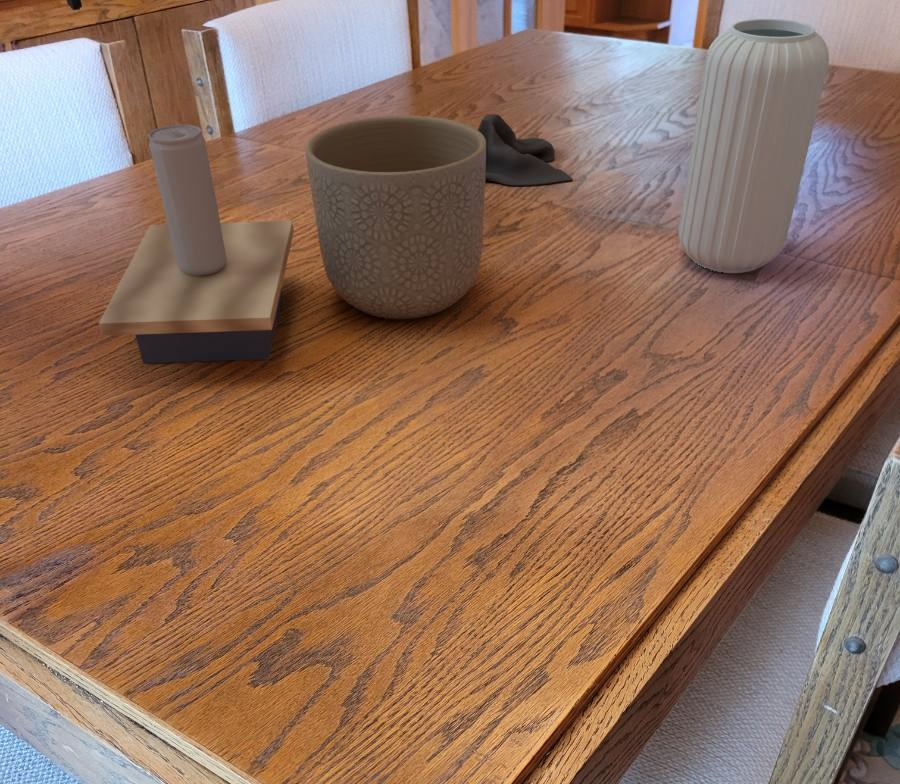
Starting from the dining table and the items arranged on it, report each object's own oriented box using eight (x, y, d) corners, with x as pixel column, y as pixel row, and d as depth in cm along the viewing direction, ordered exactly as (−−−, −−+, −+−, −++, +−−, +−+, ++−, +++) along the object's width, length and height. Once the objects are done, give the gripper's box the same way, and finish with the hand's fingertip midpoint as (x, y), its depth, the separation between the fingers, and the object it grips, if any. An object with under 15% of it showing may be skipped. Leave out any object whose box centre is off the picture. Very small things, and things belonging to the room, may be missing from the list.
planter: (515, 310, 92) (520, 150, 82) (367, 352, 87) (352, 186, 76) (435, 252, 103) (431, 105, 93) (299, 287, 97) (277, 133, 87)
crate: (143, 363, 86) (129, 314, 82) (170, 298, 96) (159, 251, 92) (269, 359, 86) (260, 309, 83) (283, 294, 96) (276, 247, 93)
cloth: (398, 180, 120) (396, 130, 116) (444, 137, 133) (443, 90, 129) (561, 196, 115) (564, 145, 111) (592, 150, 127) (596, 102, 123)
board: (102, 335, 79) (98, 323, 79) (152, 236, 95) (149, 225, 95) (272, 330, 80) (270, 317, 79) (294, 231, 96) (292, 220, 95)
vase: (653, 257, 101) (685, 27, 86) (717, 230, 106) (759, 9, 91) (737, 291, 95) (788, 49, 79) (801, 260, 100) (861, 27, 84)
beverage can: (213, 252, 89) (186, 120, 81) (237, 267, 86) (213, 132, 78) (169, 266, 87) (137, 131, 79) (192, 282, 84) (162, 145, 76)
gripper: (185, -294, 67) (225, -17, 78) (-67, -295, 61) (18, 2, 73) (213, -296, 62) (252, -1, 74) (-58, -298, 56) (31, 21, 68)
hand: (135, 0), depth 73 cm, fingers open, 9 cm apart
